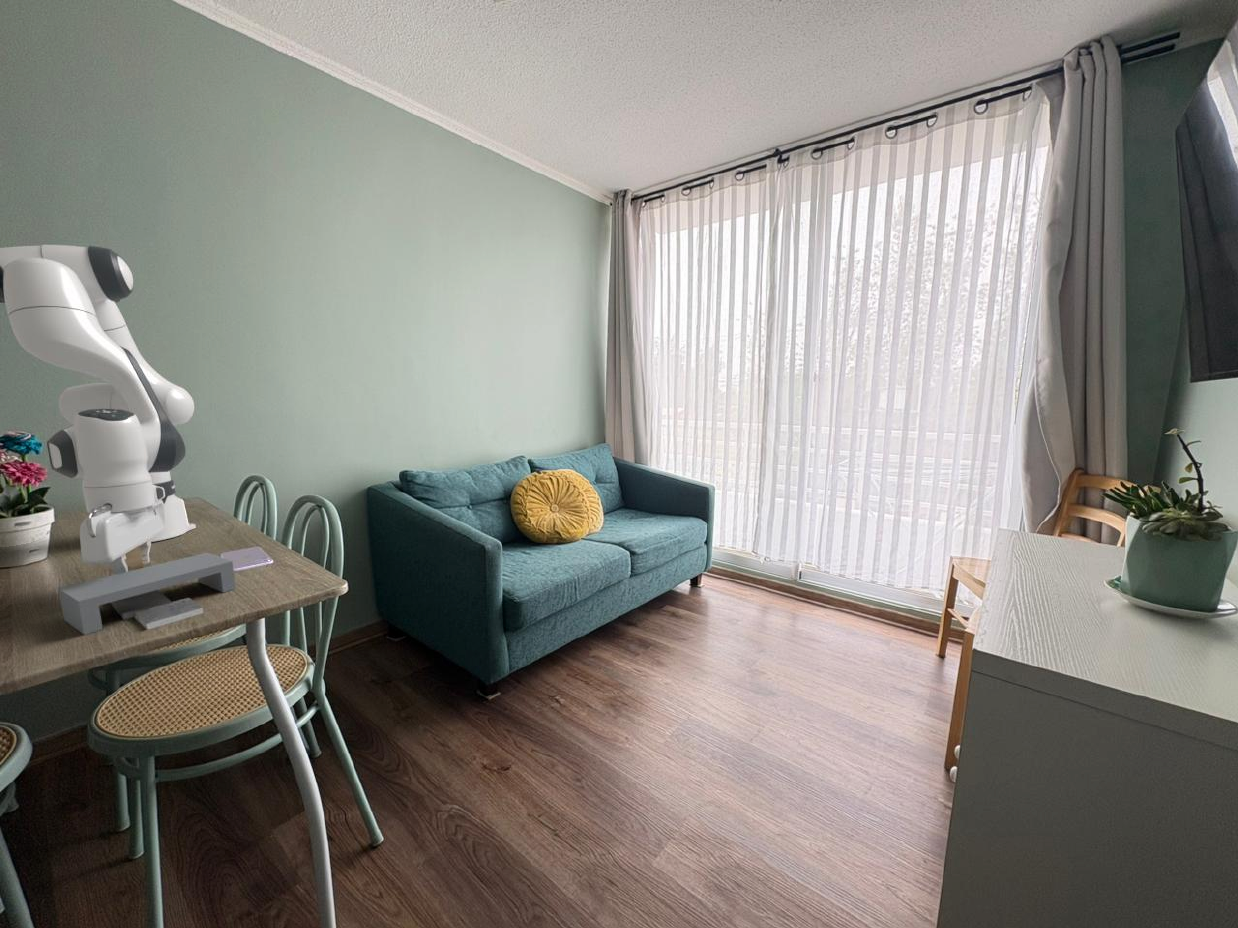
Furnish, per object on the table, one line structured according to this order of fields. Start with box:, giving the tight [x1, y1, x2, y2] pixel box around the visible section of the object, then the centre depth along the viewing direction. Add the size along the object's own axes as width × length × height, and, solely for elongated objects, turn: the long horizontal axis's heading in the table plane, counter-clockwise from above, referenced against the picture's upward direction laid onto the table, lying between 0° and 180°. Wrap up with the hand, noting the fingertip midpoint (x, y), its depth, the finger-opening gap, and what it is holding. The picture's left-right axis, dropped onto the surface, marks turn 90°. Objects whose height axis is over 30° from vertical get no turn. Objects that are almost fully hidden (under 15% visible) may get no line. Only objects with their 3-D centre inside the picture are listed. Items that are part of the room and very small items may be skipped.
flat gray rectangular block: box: [134, 597, 204, 630], centre depth 81 cm, size 7×7×2 cm
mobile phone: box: [219, 546, 274, 572], centre depth 108 cm, size 8×1×15 cm
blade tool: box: [107, 545, 172, 620], centre depth 86 cm, size 16×6×9 cm, turn 54°
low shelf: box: [57, 552, 237, 636], centre depth 85 cm, size 10×20×6 cm, turn 151°
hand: (132, 570), depth 90 cm, fingers open, 5 cm apart
